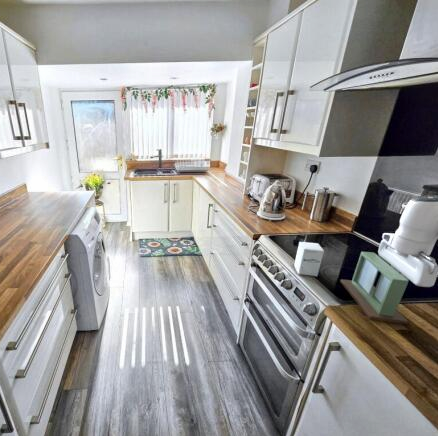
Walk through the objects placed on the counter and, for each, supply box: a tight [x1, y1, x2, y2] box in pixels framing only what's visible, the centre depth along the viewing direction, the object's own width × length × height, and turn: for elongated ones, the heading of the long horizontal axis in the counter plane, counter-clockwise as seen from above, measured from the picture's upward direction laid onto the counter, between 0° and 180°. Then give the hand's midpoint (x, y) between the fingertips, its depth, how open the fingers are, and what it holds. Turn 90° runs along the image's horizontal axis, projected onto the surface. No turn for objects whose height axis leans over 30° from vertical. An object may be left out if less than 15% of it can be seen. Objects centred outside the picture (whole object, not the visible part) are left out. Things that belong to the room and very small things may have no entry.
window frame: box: [339, 251, 409, 325], centre depth 84 cm, size 10×21×15 cm, turn 165°
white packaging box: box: [293, 241, 325, 277], centre depth 103 cm, size 7×7×13 cm
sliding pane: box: [373, 272, 390, 303], centre depth 80 cm, size 5×8×11 cm, turn 165°
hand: (396, 281), depth 81 cm, fingers closed on sliding pane
